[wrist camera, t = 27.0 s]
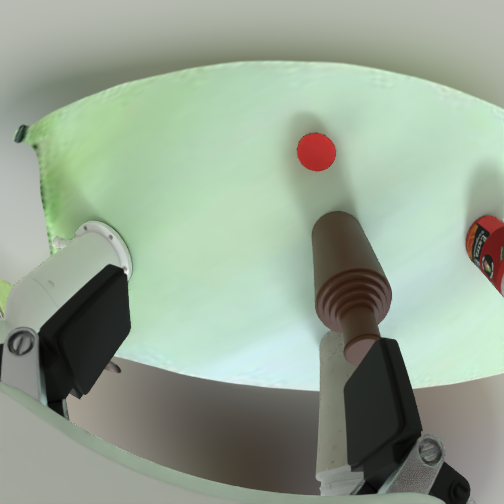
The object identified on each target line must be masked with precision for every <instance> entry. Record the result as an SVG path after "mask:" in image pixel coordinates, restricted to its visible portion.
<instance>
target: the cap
mask: <svg viewBox="0 0 504 504" xmlns="http://www.w3.org/2000/svg"><path fill="white" fill-rule="evenodd" d="M297 154H298V158H299V160H300V162H301V164H302V165H303V166H304V167H306V168H307V169H309V170H312V171H322V170H325V169H327V168H329V167H330V166H331V165H332V163H333V162H334V160H335V156H336V150H335V146H334V144H333V143H332V141H331V140H330V139H329V138H328V137H326V136H325V135H322V134H318V133H309V134H307V135H305V136H303V138H302V139H301V140H300V141H299V144H298V148H297Z"/></svg>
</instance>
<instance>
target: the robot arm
mask: <svg viewBox="0 0 504 504" xmlns="http://www.w3.org/2000/svg"><path fill="white" fill-rule="evenodd" d="M53 246H55V247H57V248H59V249H61V250H60V251H58V252H57V253H56V254H54V255H53V256H51V257H50V258H49V259H47V260H46V261H44V262H43V263H42V264H40V265H39V266H38V267H36V268H35V269H33V270H32V271H31V272H30V273H29V274H27V275H26V276H24V277H23V278H22V279H20V280H19V281H18V282H17V283H16V284H15V285H14V286H13V288H12V289H11V291H10V293H9V296H8V298H7V302H6V307H5V313H4V320H3V319H2V318H1V316H0V504H476V503H475V502H474V500H473V499H472V498H470V499H469V496H470V485H469V483H468V481H467V480H466V479H465V478H464V477H463V476H462V475H460V474H459V473H458V472H457V471H455V470H454V469H453V468H452V467H451V466H449V465H448V464H447V463H446V462H444V459H445V448H444V445H443V443H442V442H441V440H440V439H439V438H438V437H436V436H434V435H431V434H426V435H423V436H421V431H422V425H421V421H420V417H419V413H418V409H417V405H416V402H415V397H414V394H413V390H412V387H411V383H410V380H409V377H408V373H407V370H406V367H405V364H404V361H403V357H402V354H401V351H400V348H399V346H398V343H397V341H396V340H395V339H389V338H384V337H382V338H380V339H379V340H376V341H375V342H374V344H373V345H372V347H371V348H370V350H369V351H368V353H367V354H366V356H365V357H364V358H363V360H362V361H361V363H360V364H359V366H358V367H357V368H356V370H355V371H354V373H353V374H352V375H351V377H350V378H349V379H348V381H347V382H346V384H345V386H344V390H343V393H344V406H345V420H346V439H347V463H348V465H350V466H351V472H363V476H364V478H363V479H362V480H361V481H360V483H359V484H358V485H357V486H356V487H355V489H354V490H353V491H352V492H351V493H350V494H349V495H348V496H314V495H295V494H284V493H275V492H267V491H260V490H253V489H247V488H241V487H236V486H231V485H227V484H222V483H218V482H213V481H209V480H206V479H202V478H199V477H195V476H192V475H188V474H185V473H182V472H179V471H176V470H173V469H170V468H167V467H164V466H161V465H159V464H156V463H153V462H151V461H148V460H146V459H143V458H141V457H138V456H136V455H134V454H131V453H129V452H127V451H124V450H122V449H120V448H118V447H116V446H114V445H112V444H110V443H108V442H106V441H104V440H102V439H100V438H99V437H97V436H95V435H93V434H91V433H89V432H87V431H86V430H84V429H82V428H80V427H79V426H77V425H75V424H73V423H72V422H70V421H69V415H68V410H67V404H66V397H67V396H68V394H69V393H70V394H72V395H73V396H75V397H77V398H78V399H80V398H81V397H82V395H83V394H84V395H86V394H87V393H88V392H89V391H90V390H91V388H92V387H93V385H94V384H95V382H96V380H97V379H98V377H99V376H100V375H101V373H102V371H103V370H104V369H105V367H106V366H107V364H108V363H109V361H110V360H111V358H112V357H113V356H114V354H115V353H116V351H117V350H118V348H119V347H120V346H121V344H122V343H123V341H124V340H125V338H126V337H127V336H128V334H129V332H130V329H131V321H130V310H129V296H128V281H129V279H130V277H131V273H132V262H131V257H130V254H129V251H128V249H127V246H126V244H125V243H124V241H123V240H122V238H121V237H120V236H119V234H118V233H117V232H116V231H115V230H114V229H113V228H111V227H110V226H108V225H107V224H105V223H103V222H100V221H89V222H86V223H84V224H83V225H81V226H80V227H79V228H78V229H77V231H76V233H75V237H74V239H72V240H70V239H68V240H65V239H63V238H61V237H58V236H56V237H55V238H54V239H53Z"/></svg>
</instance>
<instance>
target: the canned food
mask: <svg viewBox="0 0 504 504" xmlns="http://www.w3.org/2000/svg"><path fill="white" fill-rule="evenodd" d="M466 250H467V253H468V256H469V258H470V259H471V261H472V262H473V263H474V264H475V265H476V266H477V267H478V268H479V269H480V271H481V272H482V273H483V274H484V275H485V276H486V277H487V278H488V280H489V281H490V282H491V283H492V284H493V285H494V287H495V288H496V289H497V290H498V291H499V293H500V294H501V295H502V296H503V297H504V222H502V221H501V220H499V219H498V218H496V217H494V216H483V217H481V218H479V219H478V220H476V221H475V222H474V224H473V225H472V226H471V228H470V230H469V232H468V235H467V239H466Z"/></svg>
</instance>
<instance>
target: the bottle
mask: <svg viewBox="0 0 504 504" xmlns="http://www.w3.org/2000/svg"><path fill="white" fill-rule="evenodd" d="M312 246H313V264H314V286H315V309H316V312H317V315H318V317H319V318H320V320H321V321H322V322H323V324H324V325H325V326H326V327H328V328H329V329H330V330H332V331H334V332H337V333H340V334H342V335H343V343H344V349H343V355H344V357H345V359H346V360H347V361H348V362H349V363H351V364H353V365H359V364H360V363H361V361H362V360H363V358H364V357H365V356H366V354H367V353H368V351H369V350H370V348H371V347H372V345H373V344H374V342H375V341H376V340H379V339H380V338H382V337H381V336H380V332H379V328H378V324H379V323H380V322H381V321H382V320H383V319H384V318H385V316H386V315H387V313H388V311H389V308H390V304H391V300H392V291H391V287H390V284H389V282H388V280H387V278H386V276H385V273H384V271H383V269H382V267H381V265H380V263H379V261H378V259H377V257H376V255H375V253H374V251H373V249H372V247H371V245H370V243H369V241H368V239H367V237H366V235H365V233H364V231H363V229H362V227H361V226H360V224H359V222H358V221H357V219H356V218H355V217H353V216H352V215H350V214H349V213H346V212H342V211H334V212H330V213H327V214H325V215H323V216H322V217H321V218H320V219H319V220H318V221H317V222H316V224H315V225H314V228H313V231H312Z"/></svg>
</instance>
